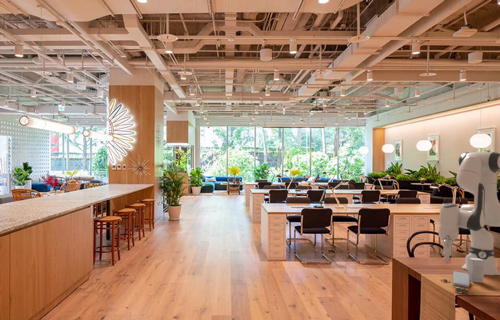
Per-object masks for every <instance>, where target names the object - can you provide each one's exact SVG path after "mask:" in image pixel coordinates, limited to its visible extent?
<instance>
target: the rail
mask: <svg viewBox="0 0 500 320" xmlns="http://www.w3.org/2000/svg"><path fill="white" fill-rule="evenodd" d="M461 288H462V287H459V288H456V287H455V292H456V291H457V292H462V293H465V294H464V295H467V294H468V295H469V290H466V289H467V288H464V289H461ZM457 292H456V293H457ZM462 293H461V294H462Z"/></svg>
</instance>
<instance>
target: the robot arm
mask: <svg viewBox="0 0 500 320" xmlns="http://www.w3.org/2000/svg"><path fill="white" fill-rule="evenodd" d="M458 164H459V168H458V171H457V173H456V178H455V182H456V183H457V185H458V186H459V187H460V188H461V189H463V190H464V191H466V192H469V193H470V194H472V195H473V196H474V197H473V198H474V199H473V204H464V205H461V207H460V208H459V207H458V204H457V203H452V202H445V203H443V204H441V205H440V208H439V209H440V210H439V216H438V217H439V218H438V220H439V226H438V237H439V238H440V239H441V241H442V242H443V252H442V254H443V255H444V257H445V261H446V262H449V258H450V257H451V256H452V255H453V253H452V251H453V250H452V248H453V243H454V242H455V241H456V240H458V238H459V237H458V236H459V228H462V229H467V230H469V231H470V245H469V253H468V254H466V256H465V258H464V260H465V263H464V264H463V265H462V266H461V269H463V270H466V271H468V262H469V258H480V259H482V260H484V276H500V271H498V269H497V264H498V263H497V262H498V261H497V259H496V258H495V257H494V256H495V250H494V243H495V242H494V241H495V237H494V235H493V234H492V233H491V232H489V231H487V230H486V229H485V226H489V227H490V226H492V227H500V201H499V199H498V192H497V191H498V190H497V185H498V175H497V174H498V173H497V172H499V171H500V152H494V151H492V152H490V151H489V152H488V151H473V152H463V153H461V155H459V157H458Z"/></svg>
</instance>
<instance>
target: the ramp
mask: <svg viewBox="0 0 500 320" xmlns="http://www.w3.org/2000/svg"><path fill="white" fill-rule="evenodd" d="M452 285H453V286H456V287H462V286H463V287H462V288H466V289H469V288H470V281H469V275H468V272H467V273H465V272H459V271H456V270H455V271H452Z"/></svg>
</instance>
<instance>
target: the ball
mask: <svg viewBox="0 0 500 320" xmlns="http://www.w3.org/2000/svg"><path fill="white" fill-rule="evenodd" d="M442 260H443V262H444V263H445V264H450V263H451V261H452V259H451V257H449V262H446V261H445V256H444V257H443V259H442Z"/></svg>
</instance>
